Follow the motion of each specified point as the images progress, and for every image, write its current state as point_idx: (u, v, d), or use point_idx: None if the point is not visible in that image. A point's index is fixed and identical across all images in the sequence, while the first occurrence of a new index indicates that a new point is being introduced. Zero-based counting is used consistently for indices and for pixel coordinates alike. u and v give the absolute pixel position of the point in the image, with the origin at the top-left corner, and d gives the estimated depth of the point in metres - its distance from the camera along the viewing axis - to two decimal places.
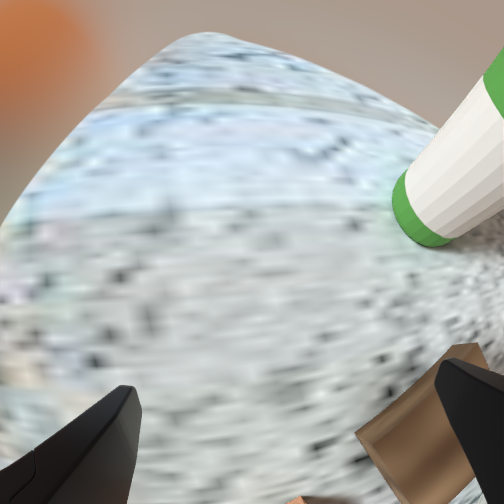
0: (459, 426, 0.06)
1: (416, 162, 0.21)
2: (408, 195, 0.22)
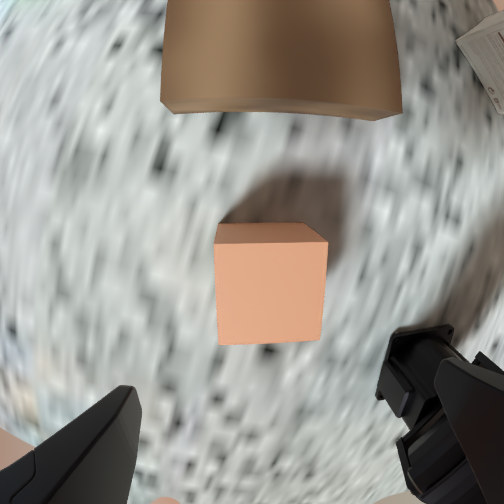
0: (459, 426, 0.06)
1: None
2: None
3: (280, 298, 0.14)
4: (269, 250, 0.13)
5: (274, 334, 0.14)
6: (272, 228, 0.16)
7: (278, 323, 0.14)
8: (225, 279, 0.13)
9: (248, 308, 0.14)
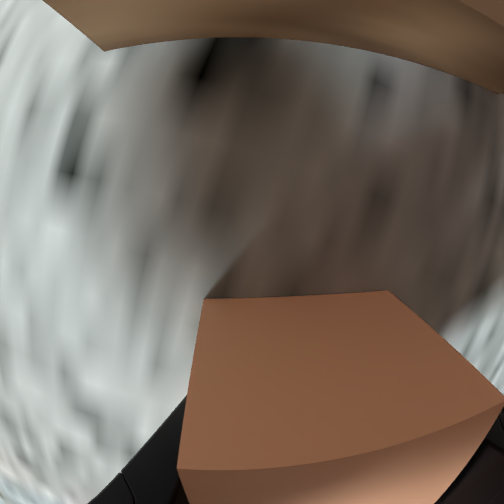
0: None
1: None
2: None
3: None
4: (367, 464, 0.03)
5: None
6: (341, 329, 0.06)
7: None
8: None
9: None
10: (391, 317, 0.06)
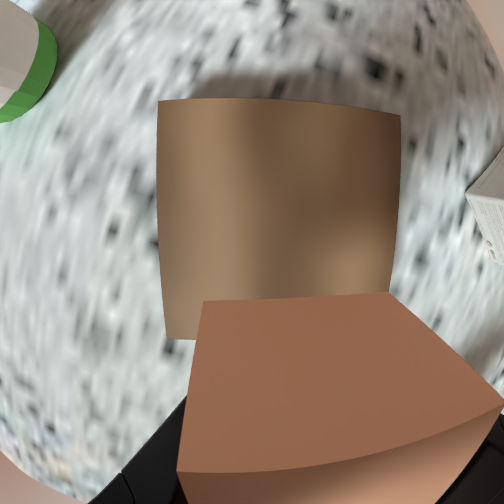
0: None
1: None
2: None
3: None
4: (367, 467, 0.03)
5: None
6: (340, 331, 0.06)
7: None
8: None
9: None
10: (391, 319, 0.06)
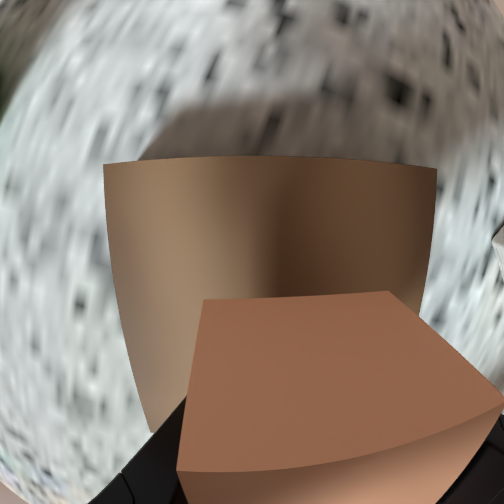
0: None
1: None
2: None
3: None
4: (368, 466, 0.03)
5: None
6: (341, 330, 0.06)
7: None
8: None
9: None
10: (391, 318, 0.06)
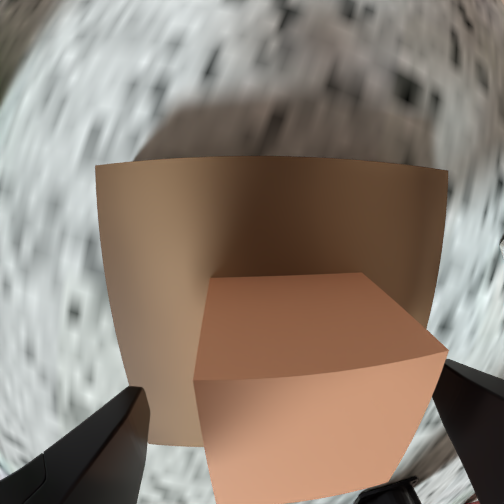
0: (453, 429, 0.06)
1: None
2: None
3: (338, 452, 0.06)
4: (330, 386, 0.05)
5: (316, 492, 0.06)
6: (317, 298, 0.08)
7: (326, 480, 0.06)
8: (225, 439, 0.05)
9: (272, 472, 0.06)
10: (360, 291, 0.08)
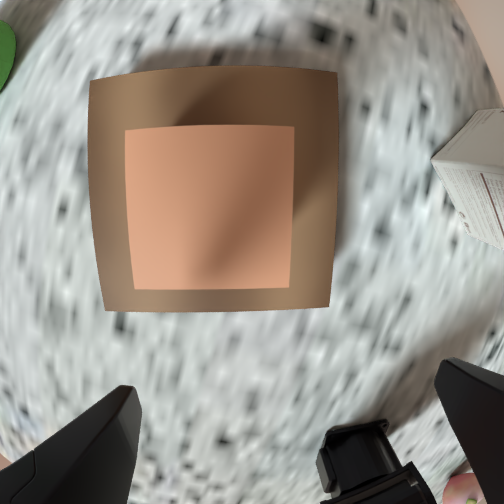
0: (459, 426, 0.06)
1: None
2: None
3: (222, 212, 0.09)
4: (203, 136, 0.08)
5: (215, 275, 0.09)
6: None
7: (220, 255, 0.09)
8: (139, 183, 0.08)
9: (173, 229, 0.09)
10: None
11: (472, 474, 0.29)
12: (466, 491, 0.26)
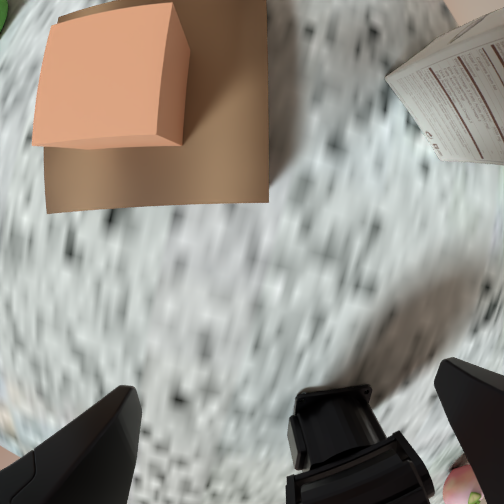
0: (459, 426, 0.06)
1: None
2: None
3: (104, 69, 0.08)
4: (101, 19, 0.07)
5: (92, 124, 0.08)
6: None
7: (98, 106, 0.08)
8: (51, 58, 0.07)
9: (66, 89, 0.08)
10: None
11: None
12: (469, 484, 0.24)
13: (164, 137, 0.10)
